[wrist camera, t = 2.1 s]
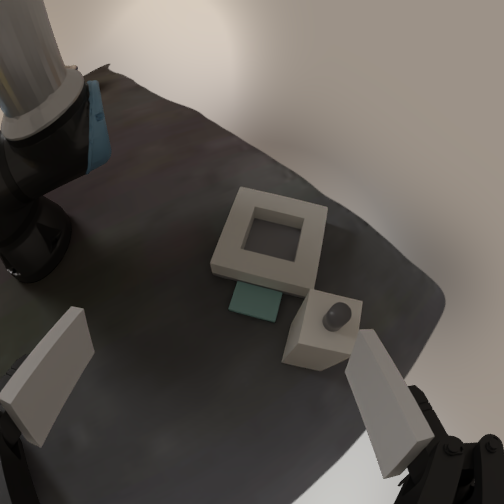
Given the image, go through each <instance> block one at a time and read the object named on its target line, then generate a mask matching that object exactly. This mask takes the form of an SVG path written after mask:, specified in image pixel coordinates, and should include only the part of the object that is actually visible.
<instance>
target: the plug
mask: <svg viewBox="0 0 504 504" xmlns="http://www.w3.org/2000/svg"><path fill="white" fill-rule="evenodd" d="M362 303H363V301H359V300H355V299H351V298H347V297H343V296H338V295H334V294H330V293H326V292H322V291H318V290H314V289H310V290H309V292H308V294H307V296H306V298H305V299H304V301H303V303H302V305H301V307H300V309H299V311H298V312H297V314H296V316H295V318H294V320H293V321H292V323H291V326H290V330H289V334H288V338H287V342H286V346H285V350H284V354H283V358H282V361H281V363H286V364H290V365H294V366H299V367H303V368H308V369H313V370H317V371H322V370H324V369H326V368H329V367H331V366H333V365H335V364H337V363H339V362H342V361H344V360H346V359H348V358H350V356H351V353H352V350H353V347H354V344H355V341H356V338H357V335H358V332H359V325H360V318H361V311H362Z"/></svg>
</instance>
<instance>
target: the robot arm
mask: <svg viewBox="0 0 504 504" xmlns="http://www.w3.org/2000/svg"><path fill="white" fill-rule="evenodd" d="M0 108H1V110H2V111H3V112H4V116H3V120H2V123H1V130H0V258H1V260H2V262H3V263H4V265H5V267H6V269H7V270H8V272H9V273H10V274H11V275H12V276H14V277H15V278H16V279H18V280H19V281H21V282H24V283H32V282H35V281H38V280H40V279H42V278H44V277H45V276H46V275H48V274H49V273H50V272H51V271H52V270H53V269H54V268H55V267H56V266H57V264H58V263H59V262H60V260H61V259H62V257H63V255H64V254H65V252H66V249H67V247H68V244H69V241H70V237H71V223H70V220H69V217H68V216H67V214H66V213H65V212H64V210H63V209H62V208H61V207H60V206H59V205H58V204H56V203H55V202H53V201H51V200H49V199H48V198H46V197H44V196H43V195H44V194H46V193H48V192H50V191H52V190H54V189H56V188H58V187H60V186H62V185H64V184H66V183H68V182H70V181H72V180H74V179H77V178H79V177H81V176H83V175H85V174H89V173H90V171H92V170H94V169H96V168H97V167H99V166H101V165H103V164H105V163H106V162H107V161H108V160H109V158H110V156H111V146H110V141H109V136H108V132H107V127H106V122H105V116H104V111H103V106H102V100H101V94H100V88H99V82H98V81H96V80H94V81H88V82H87V83H85V81H84V78H83V76H82V74H81V73H80V72H79V71H78V70H75V69H69V68H65V65H64V63H63V60H62V57H61V55H60V52H59V49H58V46H57V43H56V40H55V37H54V35H53V31H52V28H51V25H50V22H49V19H48V15H47V12H46V9H45V6H44V2H43V0H0ZM94 353H95V352H94V348H93V345H92V341H91V337H90V333H89V329H88V325H87V321H86V317H85V312H84V309H83V308H78V307H72V306H71V307H70V308H69V310H68V311H67V312H66V313H65V314H64V315H63V316H62V317H61V318H60V319H59V321H58V322H57V323H56V324H55V325H54V326H53V327H52V328H51V330H50V331H49V332H48V333H47V334H46V335H45V337H44V338H43V339H42V340H41V341H40V342H39V344H38V345H37V346H36V347H35V348H34V350H33V351H32V352H31V353H30V354H29V355H26V354H25V355H24V356H22V357H20V358H19V359H17V360H16V362H15V363H14V364H13V365H12V366H11V369H9V370H8V371H7V373H6V375H4V377H3V378H2V379H1V380H0V504H40V502H39V500H38V497H37V494H36V491H35V489H34V486H33V482H32V479H31V476H30V473H29V469H28V466H27V462H26V458H25V454H24V450H23V446H22V442H21V440H20V438H19V437H20V435H21V433H22V435H23V436H24V437H25V438H26V440H27V441H28V442H30V443H32V444H34V445H36V446H38V447H40V448H41V447H42V445H43V443H44V441H45V439H46V437H47V435H48V433H49V431H50V429H51V428H52V426H53V424H54V422H55V420H56V418H57V416H58V414H59V413H60V411H61V409H62V407H63V405H64V403H65V402H66V400H67V398H68V396H69V395H70V393H71V391H72V389H73V388H74V386H75V384H76V382H77V381H78V379H79V377H80V376H81V374H82V372H83V371H84V369H85V367H86V366H87V364H88V362H89V361H90V359H91V358H92V356H93V354H94ZM345 374H346V376H347V379H348V382H349V384H350V387H351V389H352V392H353V395H354V397H355V400H356V403H357V405H358V408H359V411H360V413H361V416H362V419H363V421H364V424H365V427H366V430H367V432H368V435H369V438H370V441H371V443H372V446H373V449H374V452H375V455H376V458H377V461H378V464H379V467H380V470H381V473H382V476H383V479H385V478H389V477H393V476H397V475H400V474H401V473H402V472H403V471H404V470H405V469H406V468H408V471H409V474H408V475H407V476H406V477H405V478H404V479H403V480H402V481H401V482H400V483H399V485H398V486H401V485H402V484H403V486H402V488H401V490H400V492H399V494H398V496H397V499H396V501H395V503H394V504H504V449H503V444H502V442H501V440H500V439H499V438H498V437H497V436H495V435H492V434H487V435H485V436H483V437H482V438H481V439H480V441H479V442H478V443H463V442H462V441H461V440H460V439H459V438H457V437H454V436H448V434H447V433H446V431H445V429H444V428H443V426H442V424H441V422H440V420H439V419H438V417H437V415H436V413H435V412H434V410H432V407H431V405H430V403H428V400H427V398H426V396H425V394H424V393H423V392H422V391H421V390H420V389H419V388H418V387H416V386H415V385H413V386H407V384H406V383H405V381H404V379H403V378H402V376H401V374H400V372H399V371H398V369H397V367H396V366H395V364H394V362H393V360H392V359H391V357H390V355H389V354H388V352H387V350H386V349H385V347H384V346H383V344H382V342H381V341H380V339H379V337H378V336H377V334H376V333H375V331H374V329H359V332H358V335H357V338H356V341H355V344H354V347H353V350H352V353H351V356H350V359H349V362H348V365H347V367H346V370H345Z"/></svg>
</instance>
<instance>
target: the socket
mask: <svg viewBox="0 0 504 504" xmlns="http://www.w3.org/2000/svg"><path fill="white" fill-rule="evenodd" d="M327 210H328V207H325V206H321V205H317V204H313V203H309V202H305V201H301V200H297V199H293V198H289V197H284V196H280V195H276V194H271V193H267V192H263V191H258V190H253V189H249V188H244V187H240V189H239V191H238V194H237V196H236V199H235V201H234V203H233V206H232V208H231V211H230V213H229V216H228V218H227V221H226V223H225V226H224V228H223V231H222V233H221V236H220V239H219V241H218V244H217V246H216V249H215V251H214V254H213V256H212V259H211V262H210V266H211V270H212V274H213V275H214V276H218V277H221V278H225V279H229V280H232V281H236V282H237V284H236V287H235V290H234V293H233V296H232V299H231V302H230V305H229V309H228V310H229V311H233V312H236V313H240V314H244V315H247V316H251V317H255V318H258V319H262V320H266V321H270V322H274V323H275V320H276V316H277V313H278V309H279V305H280V301H281V297H282V294H286V295H290V296H294V297H298V298H302V299H305V298H306V296H307V294H308V292H309V290H310V289H314V286H315V281H316V276H317V270H318V265H319V259H320V254H321V248H322V242H323V236H324V230H325V223H326V217H327Z"/></svg>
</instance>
